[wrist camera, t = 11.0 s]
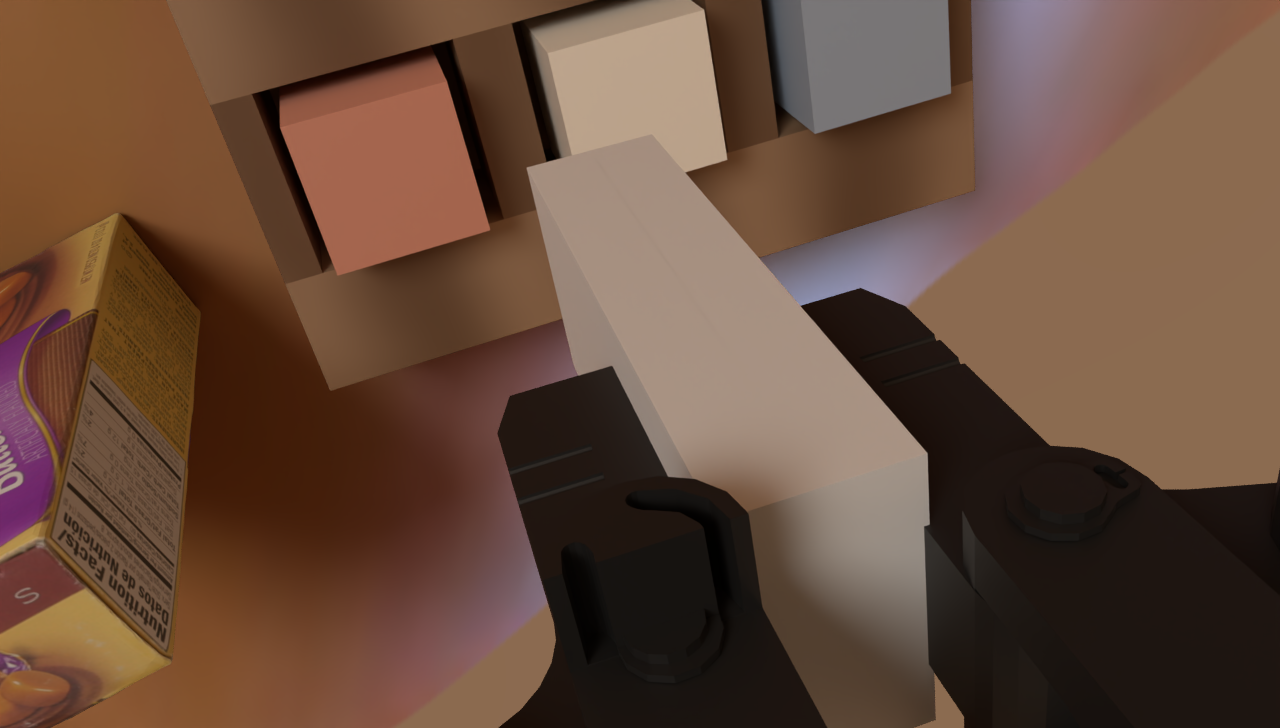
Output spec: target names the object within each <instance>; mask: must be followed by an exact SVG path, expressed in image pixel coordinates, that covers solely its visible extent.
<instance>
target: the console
mask: <svg viewBox="0 0 1280 728" xmlns="http://www.w3.org/2000/svg"><path fill="white" fill-rule="evenodd" d="M166 1H167V3H168V6H169V8H170V11H171V13H172V15H173V18H174V20H175V23H176V25H177V27H178V30H179V32H180V34H181V37H182V39H183V42H184V44H185V46H186V49H187V51H188V53H189V56H190V58H191V61H192V63H193V65H194V68H195V70H196V73H197V75H198V77H199V80H200V82H201V84H202V87H203V89H204V92H205V94H206V96H207V99H208V101H209V103H210V106H211V108H212V111H213V113H214V115H215V118H216V120H217V123H218V125H219V127H220V130H221V132H222V134H223V137H224V139H225V142H226V144H227V146H228V149H229V151H230V153H231V156H232V158H233V161H234V163H235V165H236V168H237V170H238V173H239V175H240V177H241V180H242V182H243V184H244V187H245V189H246V192H247V194H248V196H249V199H250V201H251V204H252V206H253V208H254V211H255V213H256V215H257V218H258V220H259V223H260V225H261V227H262V230H263V232H264V234H265V237H266V239H267V242H268V244H269V246H270V249H271V251H272V254H273V256H274V258H275V261H276V263H277V265H278V268H279V270H280V273H281V275H282V277H283V280H284V282H285V284H286V287H287V289H288V292H289V294H290V296H291V299H292V301H293V304H294V306H295V308H296V311H297V313H298V315H299V318H300V320H301V323H302V325H303V327H304V330H305V332H306V334H307V337H308V339H309V342H310V344H311V346H312V349H313V351H314V354H315V356H316V358H317V361H318V363H319V365H320V368H321V370H322V373H323V375H324V377H325V380H326V382H327V384H328V387H329V389H330V391H332V390H335V389H338V388H341V387H344V386H348V385H351V384H354V383H357V382H360V381H364V380H367V379H370V378H373V377H377V376H380V375H383V374H386V373H389V372H393V371H396V370H399V369H402V368H406V367H409V366H412V365H415V364H418V363H422V362H425V361H428V360H431V359H434V358H438V357H441V356H444V355H447V354H451V353H454V352H457V351H460V350H463V349H467V348H470V347H473V346H476V345H480V344H483V343H486V342H489V341H492V340H496V339H499V338H502V337H505V336H508V335H512V334H515V333H518V332H521V331H525V330H528V329H531V328H534V327H537V326H541V325H544V324H547V323H550V322H554V321H557V320H560V319H563V318H562V314H561V310H560V306H559V302H558V297H557V293H556V289H555V285H554V281H553V276H552V272H551V268H550V264H549V260H548V256H547V251H546V247H545V243H544V239H543V235H542V230H541V226H540V222H539V218H538V214H537V210H536V205H535V201H534V197H533V193H532V189H531V184H530V180H529V176H528V172H527V167H531V166H534V165H538V164H542V163H546V162H549V161H553V160H557V159H556V158H555V156H554V154H553V153H552V151H551V147H550V143H549V139H548V135H547V131H546V127H545V123H544V119H543V115H542V111H541V107H540V103H539V99H538V95H537V91H536V87H535V83H534V79H533V75H532V71H531V67H530V63H529V59H528V55H527V51H526V46H525V42H524V38H523V34H522V30H521V26H520V22H519V21H521V20H525V19H528V18H532V17H536V16H539V15H543V14H547V13H550V12H554V11H558V10H561V9H565V8H569V7H572V6H576V5H580V4H583V3H587V2H591V1H594V0H166ZM691 1H693V2H694V3H695V4H697V5H698V6H700V7H701V8H702V9H704V12H705V19H706V25H707V32H708V38H709V45H710V51H711V57H712V64H713V70H714V77H715V83H716V90H717V96H718V103H719V109H720V115H721V122H722V128H723V135H724V141H725V148H726V154H727V160H725V161H722V162H719V163H715V164H712V165H708V166H705V167H702V168H698V169H695V170H692V171H688V172H685V173H686V174H687V175H688V177H689V178H690V179H691V180H692V181H693V182H694V184H695V185H696V186H697V187H698V188H699V189H700V190H701V192H702V193H703V194H704V195H705V196H706V197H707V199H708V200H709V201H710V202H711V203H712V204H713V206H714V207H715V208H716V209H717V210H718V211H719V212H720V214H721V215H722V216H723V217H724V218H725V219H726V221H727V222H728V223H729V224H730V225H731V226H732V228H733V229H734V230H735V231H736V232H737V233H738V234H739V236H740V237H741V238H742V239H743V240H744V241H745V243H746V244H747V245H748V246H749V247H750V248H751V250H752V251H753V252H754V253H755V254H756V255H757V256H758V258H759V257H763V256H766V255H769V254H772V253H775V252H779V251H782V250H785V249H788V248H792V247H795V246H798V245H801V244H804V243H808V242H811V241H814V240H817V239H821V238H824V237H827V236H830V235H833V234H837V233H840V232H843V231H846V230H849V229H853V228H856V227H859V226H862V225H866V224H869V223H872V222H875V221H878V220H882V219H885V218H888V217H891V216H895V215H898V214H901V213H904V212H907V211H911V210H914V209H917V208H920V207H923V206H927V205H930V204H933V203H936V202H940V201H943V200H946V199H949V198H952V197H956V196H959V195H962V194H965V193H969V192H972V191H975V162H974V118H973V74H972V30H971V0H948V18H949V47H950V77H951V94H947V95H944V96H941V97H937V98H934V99H931V100H927V101H924V102H921V103H917V104H914V105H910V106H907V107H904V108H900V109H897V110H894V111H890V112H887V113H884V114H880V115H877V116H873V117H870V118H867V119H863V120H860V121H857V122H853V123H850V124H847V125H843V126H840V127H836V128H833V129H830V130H826V131H823V132H820V133H816V134H814V133H813V132H812V131H811V130H809V129H808V128H807V127H806V126H804V125H803V124H802V123H801V122H800V121H798V120H797V119H796V118H795V117H793V116H792V115H791V114H790V113H788V112H787V111H786V110H785V109H783V108H782V107H781V106H780V105H778V104H777V103H776V102H775V101H774V98H773V90H772V82H771V74H770V66H769V58H768V50H767V42H766V35H765V27H764V19H763V11H762V3H761V0H691ZM429 45H431V48H432V50H433V52H434V54H435V56H436V59H437V61H438V63H439V65H440V67H441V70H442V72H443V74H444V76H445V78H446V81H447V84H448V87H449V90H450V94H451V97H452V101H453V104H454V108H455V111H456V114H457V118H458V121H459V125H460V128H461V131H462V135H463V138H464V142H465V145H466V148H467V152H468V155H469V159H470V162H471V166H472V169H473V172H474V176H475V179H476V183H477V186H478V189H479V193H480V196H481V200H482V203H483V206H484V210H485V213H486V217H487V220H488V224H489V227H490V231H486V232H483V233H480V234H476V235H473V236H470V237H466V238H463V239H459V240H456V241H453V242H449V243H446V244H443V245H439V246H436V247H433V248H429V249H426V250H422V251H419V252H416V253H412V254H409V255H406V256H402V257H399V258H396V259H392V260H389V261H385V262H382V263H379V264H375V265H372V266H369V267H365V268H362V269H359V270H355V271H352V272H348V273H345V274H342V275H338V276H337V273H336V270H335V268H334V265H333V263H332V260H331V258H330V255H329V252H328V250H327V247H326V245H325V242H324V240H323V237H322V234H321V232H320V229H319V227H318V224H317V221H316V219H315V216H314V214H313V211H312V209H311V206H310V203H309V201H308V198H307V196H306V193H305V191H304V188H303V185H302V183H301V180H300V178H299V175H298V173H297V170H296V167H295V165H294V162H293V160H292V157H291V154H290V152H289V149H288V147H287V144H286V142H285V139H284V136H283V134H282V131H281V129H280V91H279V86H283V85H286V84H290V83H294V82H297V81H301V80H305V79H308V78H312V77H316V76H319V75H323V74H327V73H330V72H334V71H338V70H341V69H345V68H349V67H352V66H356V65H360V64H363V63H367V62H371V61H374V60H378V59H382V58H385V57H389V56H393V55H396V54H400V53H404V52H407V51H411V50H415V49H418V48H422V47H426V46H429Z"/></svg>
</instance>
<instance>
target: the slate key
mask: <svg viewBox="0 0 1280 728" xmlns="http://www.w3.org/2000/svg"><path fill="white" fill-rule="evenodd" d="M761 3H762V11H763V19H764V27H765V35H766V42H767V50H768V58H769V66H770V74H771V82H772V90H773V98H774V101H775V102H776V103H777V104H778V105H780V106H781V107H782V108H783V109H785V110H786V111H787V112H788V113H790V114H791V115H792V116H793V117H795V118H796V119H797V120H798V121H800V122H801V123H802V124H803V125H804V126H806V127H807V128H808V129H809V130H811V131H812V132H813V133H814V134H816V133H820V132H823V131H826V130H830V129H833V128H836V127H840V126H843V125H847V124H850V123H853V122H857V121H860V120H863V119H867V118H870V117H873V116H877V115H880V114H884V113H887V112H890V111H894V110H897V109H900V108H904V107H907V106H910V105H914V104H917V103H921V102H924V101H927V100H931V99H934V98H937V97H941V96H944V95H947V94H951V77H950V47H949V18H948V0H761Z"/></svg>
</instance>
